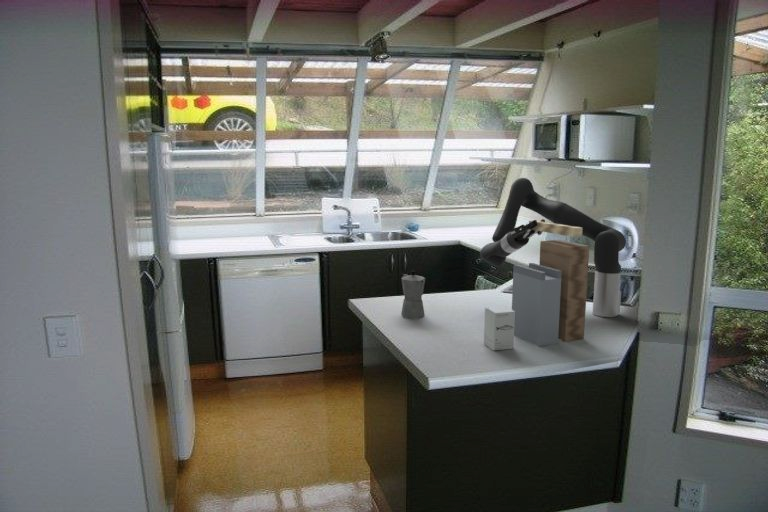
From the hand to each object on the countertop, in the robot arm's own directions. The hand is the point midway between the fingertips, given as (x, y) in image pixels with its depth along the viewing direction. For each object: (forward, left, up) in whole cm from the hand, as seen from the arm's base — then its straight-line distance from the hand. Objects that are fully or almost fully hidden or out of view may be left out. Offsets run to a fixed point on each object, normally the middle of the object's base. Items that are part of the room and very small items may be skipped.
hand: (540, 222), depth 198 cm
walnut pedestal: (0, +13, -38) cm, 40 cm away
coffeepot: (+37, -29, -38) cm, 61 cm away
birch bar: (0, +8, -3) cm, 8 cm away
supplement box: (+27, +16, -38) cm, 49 cm away
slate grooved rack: (+11, +13, -38) cm, 42 cm away
